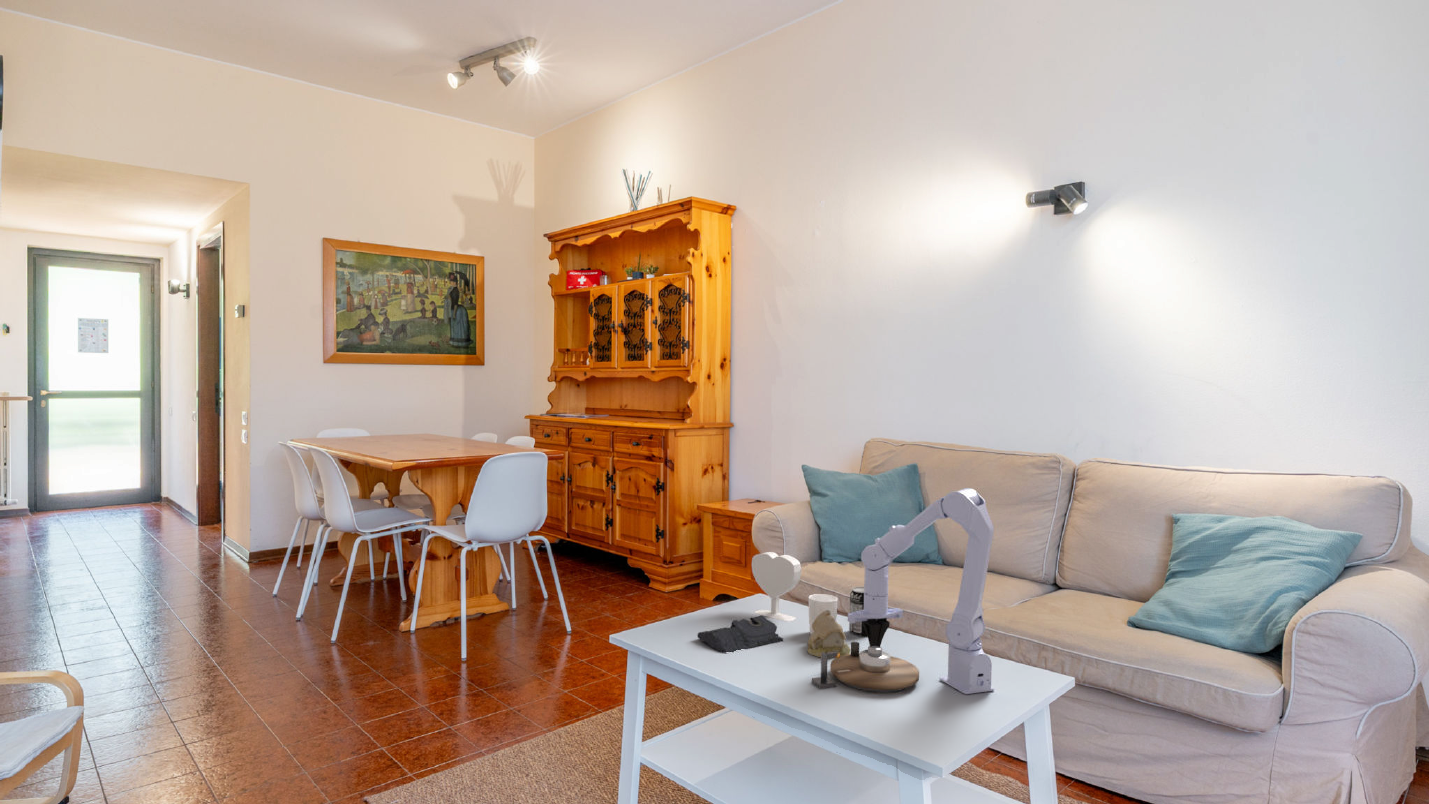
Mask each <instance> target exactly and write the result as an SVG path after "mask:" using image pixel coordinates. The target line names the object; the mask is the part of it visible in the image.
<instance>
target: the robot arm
mask: <svg viewBox="0 0 1429 804" xmlns="http://www.w3.org/2000/svg"><path fill="white" fill-rule="evenodd" d="M986 503H987V502H986V500H985V499H984V498H983V496H981V495H980V494H979V492H978V491H976V490H975V489H974V488H969V487H965V488H961V489H960V490H956V491H955V490H953V491H951V492H948V493H946V495H945V496H943V497H941V498H938V499H937V500H935V501H934V502H932V503H930V505H928V506H927V507H926V508H925V509H923V510H922V511H921V512H920V513H919V514H918V515H917V516H915V517H914V518H913V519H912V520H910V521H909V522H908V523H907V524H906V525H902V524H897V525H892V526H889V528H888V532H886V533H885V534H884V535H883V536H881V537H877V538H876V539H875V540H874V542H875V543H874V544H871V545H867V546H865V547H864V549H863V550H862V552H861V554H860V555H861V557H860V559H861V562H862V564H863V567H864V577H863V579H864V581H863V587H864V610H860V611H857V612H853V613H850V612H847V622H848V623H849V622H850V623H855V622H860V621H861V622H862V624H863V626H864V628H865V630H866V633H867V636H866V637H867V638H868V639H867V640H868V644H869V646H879V647H881V645H882V642H883V639H884V636H885V634H886V632H887V630H888V629H889V627H890V625H891V624H890V623H891V622H890V621H889V619H903V618H904V615H903V614H904V610H903V609H901V608H898V607H895V608H888V607H889V566H890V565H891V564H892V562H893V560H894V559H896V558H897V557H898V556H900V555H901V554H902V553H904V552H905V551H907V550H909V548H910V547H912V546H913V545H914V543H915V537H916V536H917V535H918V534H920V533H922V532H923V531H924V530H925V529H927V528H929V526H931V525H932V524H935V522H937V521H938V520H945V519H948V518H950V519H951V520H952V521H954V522H955V523H957V524H958V525H960V526H961V528H962V529H964V531H965V532H966V534H968V539H967V545H966V551H965V558H964V563H963V569H962V575H961V581H960V586H959V592H958V598H957V603H956V606H955V607H954V610H953V612H952V615H951V616H952V617H951V619H950V621H949V622H948V624H947V625H946V628H945V636H946V638H947V641H948V653H947V655H948V658H947V659H948V661H947V675H946V676H940V677H939V680H940V681H941V682H944V683H945V684H947V685H949V686H950V687H952V688H954V689H955V690H957V691H958V692H960V693H962V694H964V695H970V694H976V693H983V692H992V691H994V690H995V687H993V686H992V671H993V670H992V665H993V664H992V659H991V658H990V656H989V655H988V654H986V653H985V652H984V650H983V643H982V641H981V637H982V636H983V635H984V634H985V631H986V624H985V620H984V608H983V605H982V603H983V597H984V591H985V585H986V580H987V573H988V569H989V568H988V567H989V563H990V561H989V560H990V556H991V550H992V545H993V540H994V539H993V538H994V533H995V528H994V525H993V522H992V519H991V517H990V514H989V512H988V509H987V504H986Z"/></svg>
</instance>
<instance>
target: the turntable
mask: <svg viewBox="0 0 1429 804" xmlns="http://www.w3.org/2000/svg"><path fill="white" fill-rule="evenodd" d="M859 653H860V642H858V641H851V642H850V653H849V654H847V655H843V656H840V658H836V657H834V659H833V660H831V662H830V665H829V667H830V673H831V674H832V676H833V677H834V678H836V679H837V680H839V681H841V682H842V681H843V682H842V683H844V682H845V683H848V684H851V685H855V686H859V687H863V688H870V689H882V690H890V689H901V688H905V689H906V688H909V687H912V686H914V685H916V684H917V683H918V682H919V680H920V670H919V668H918V667H917V666H916V665H915V664H913V663H911V662H909V661H908V660H906V659H902V658H899V657H896V656H892V655H890V671H889V672H886V673H870V672H866V671H863V670H861V669H860V668H859ZM845 683H844V684H845Z"/></svg>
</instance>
